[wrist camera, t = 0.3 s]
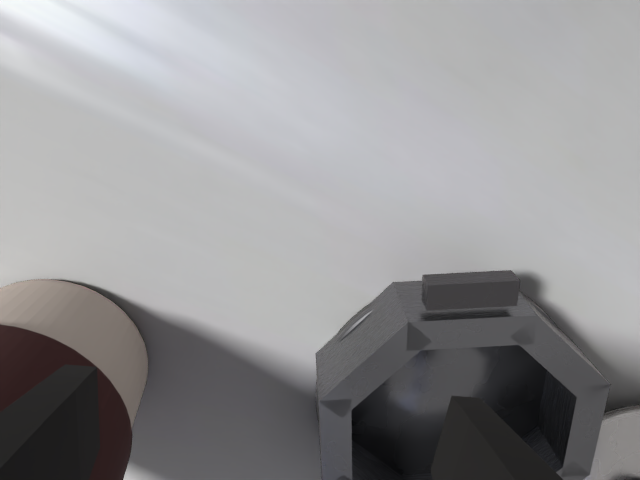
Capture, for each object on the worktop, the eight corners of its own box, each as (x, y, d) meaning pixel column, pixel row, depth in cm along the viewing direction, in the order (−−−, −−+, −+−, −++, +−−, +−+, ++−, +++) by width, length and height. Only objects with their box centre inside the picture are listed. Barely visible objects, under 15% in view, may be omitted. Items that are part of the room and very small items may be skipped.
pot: (544, 493, 25) (574, 550, 23) (320, 507, 25) (323, 566, 22) (591, 243, 20) (637, 277, 17) (309, 257, 20) (311, 294, 17)
